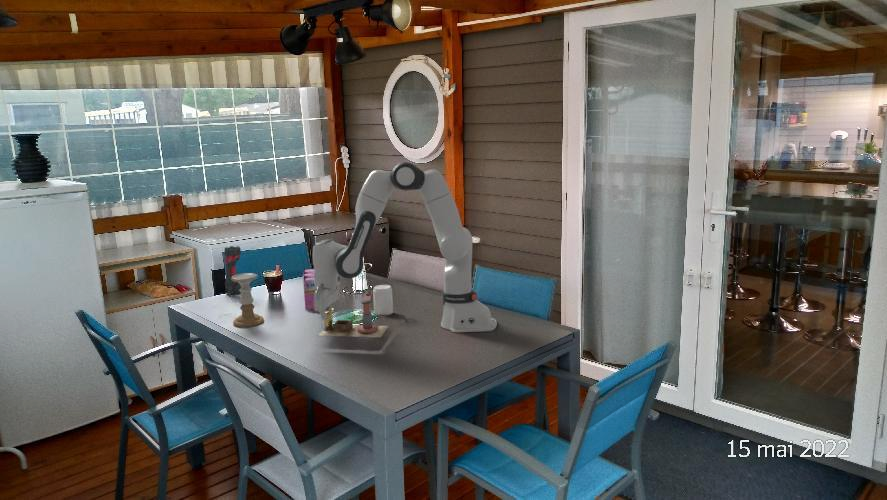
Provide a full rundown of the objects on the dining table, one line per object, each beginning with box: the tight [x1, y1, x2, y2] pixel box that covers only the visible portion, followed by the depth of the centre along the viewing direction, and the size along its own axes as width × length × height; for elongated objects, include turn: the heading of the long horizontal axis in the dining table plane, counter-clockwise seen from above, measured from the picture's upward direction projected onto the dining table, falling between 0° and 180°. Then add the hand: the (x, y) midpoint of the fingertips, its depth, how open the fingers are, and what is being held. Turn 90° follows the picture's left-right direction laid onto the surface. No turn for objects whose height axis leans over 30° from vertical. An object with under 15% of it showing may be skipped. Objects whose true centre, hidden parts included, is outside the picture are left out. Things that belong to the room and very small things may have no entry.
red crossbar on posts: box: [357, 292, 379, 333], centre depth 253 cm, size 15×8×12 cm, turn 3°
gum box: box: [302, 268, 317, 311], centre depth 295 cm, size 24×8×14 cm, turn 12°
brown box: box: [333, 319, 354, 333], centre depth 252 cm, size 6×6×3 cm
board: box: [317, 324, 390, 338], centre depth 251 cm, size 25×13×2 cm, turn 81°
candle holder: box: [231, 272, 265, 328], centre depth 266 cm, size 12×12×20 cm
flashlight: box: [224, 245, 242, 296], centre depth 312 cm, size 8×8×23 cm
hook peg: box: [323, 310, 334, 330], centre depth 253 cm, size 3×3×7 cm
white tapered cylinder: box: [372, 284, 394, 316], centre depth 274 cm, size 8×8×12 cm
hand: (328, 315), depth 252 cm, fingers open, 8 cm apart
